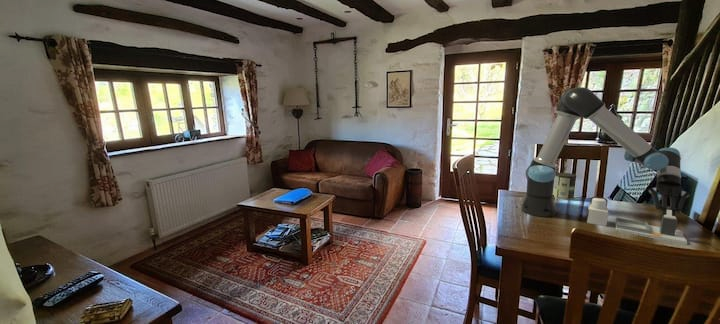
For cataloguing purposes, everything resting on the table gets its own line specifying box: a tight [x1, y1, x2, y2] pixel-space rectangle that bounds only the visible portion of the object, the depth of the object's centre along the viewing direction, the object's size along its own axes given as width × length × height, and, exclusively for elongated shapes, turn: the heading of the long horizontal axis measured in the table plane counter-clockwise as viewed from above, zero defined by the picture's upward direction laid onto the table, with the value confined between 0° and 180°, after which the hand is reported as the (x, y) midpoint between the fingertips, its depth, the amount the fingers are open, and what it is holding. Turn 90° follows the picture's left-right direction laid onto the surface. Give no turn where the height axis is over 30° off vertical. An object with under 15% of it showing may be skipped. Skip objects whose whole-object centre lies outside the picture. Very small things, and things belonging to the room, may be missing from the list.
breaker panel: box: [614, 216, 688, 245], centre depth 127 cm, size 21×13×3 cm, turn 51°
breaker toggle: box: [659, 215, 678, 236], centre depth 122 cm, size 4×3×8 cm
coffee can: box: [553, 172, 577, 201], centre depth 175 cm, size 10×10×14 cm
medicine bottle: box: [586, 196, 609, 227], centre depth 138 cm, size 7×7×12 cm
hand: (668, 224), depth 124 cm, fingers closed
